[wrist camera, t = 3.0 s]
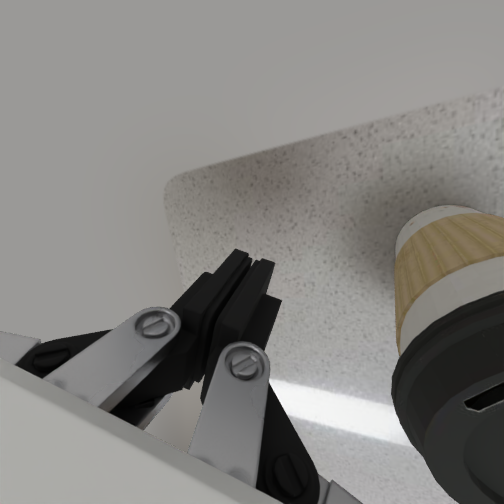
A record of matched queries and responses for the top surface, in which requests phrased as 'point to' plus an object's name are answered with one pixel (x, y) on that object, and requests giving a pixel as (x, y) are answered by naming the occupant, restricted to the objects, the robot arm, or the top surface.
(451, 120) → the top surface
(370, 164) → the top surface
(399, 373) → the coffee cup
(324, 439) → the top surface
